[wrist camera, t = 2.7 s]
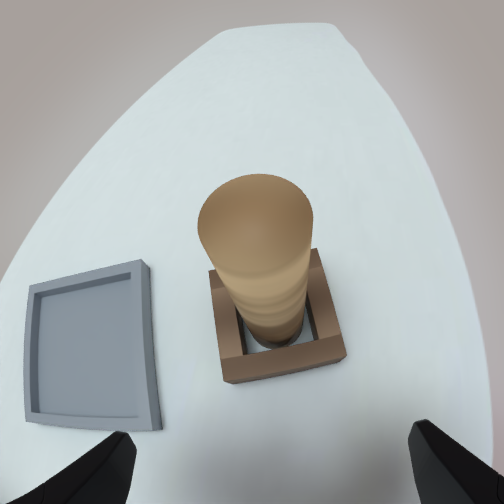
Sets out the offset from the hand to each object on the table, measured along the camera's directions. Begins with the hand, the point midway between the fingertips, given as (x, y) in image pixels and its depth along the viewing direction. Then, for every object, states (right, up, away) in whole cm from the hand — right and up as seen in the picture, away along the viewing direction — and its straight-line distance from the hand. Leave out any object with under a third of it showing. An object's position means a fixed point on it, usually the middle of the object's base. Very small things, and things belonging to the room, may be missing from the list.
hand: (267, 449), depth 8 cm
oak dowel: (+1, 0, +15) cm, 15 cm away
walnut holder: (+1, 0, +15) cm, 15 cm away
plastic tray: (-15, -3, +16) cm, 22 cm away
